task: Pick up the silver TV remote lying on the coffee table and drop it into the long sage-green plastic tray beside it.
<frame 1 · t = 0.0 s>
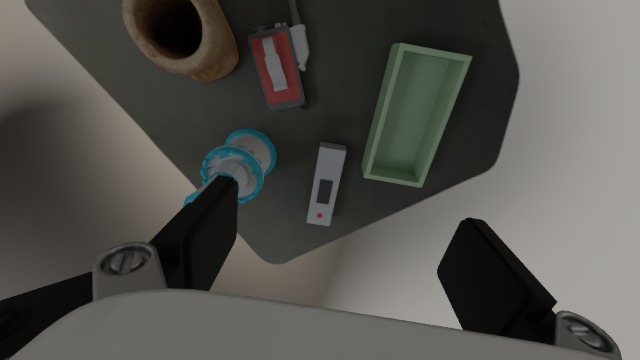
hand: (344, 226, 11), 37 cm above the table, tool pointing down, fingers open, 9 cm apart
tray: (403, 116, 45), on the table
walkie-talkie: (281, 47, 41), on the table
brown flared hollow piece: (205, 25, 40), on the table
remote: (325, 181, 51), on the table
model tower: (250, 154, 49), on the table
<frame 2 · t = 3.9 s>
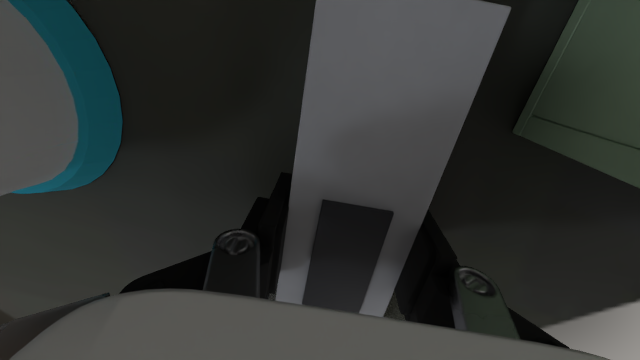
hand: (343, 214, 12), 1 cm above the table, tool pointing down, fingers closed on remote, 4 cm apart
remote: (342, 205, 12), on the table, touching gripper
model tower: (3, 82, 11), on the table
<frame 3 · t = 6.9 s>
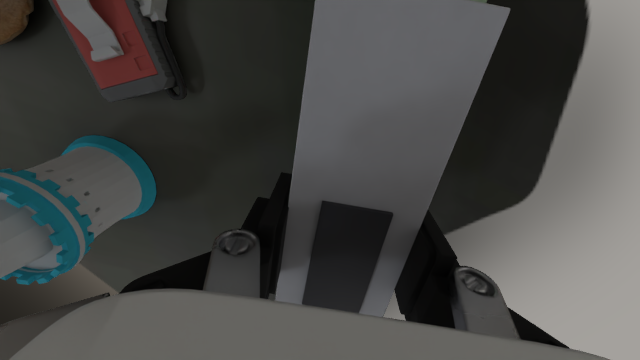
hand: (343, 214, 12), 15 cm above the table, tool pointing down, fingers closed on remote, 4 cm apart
remote: (342, 206, 12), point 14 cm above the table, touching gripper
model tower: (112, 178, 29), on the table
when the fingers open (4 cm above the table, at t = 10.4 s): remote stays where it is, resting on tray.
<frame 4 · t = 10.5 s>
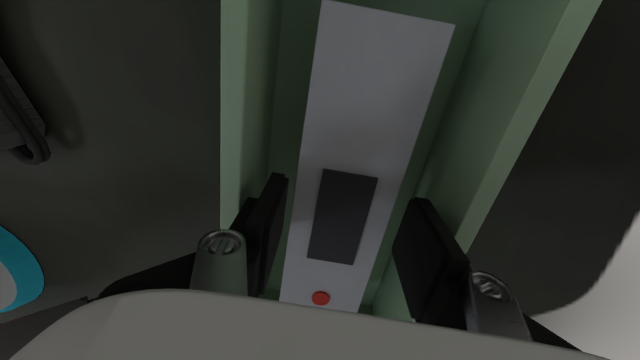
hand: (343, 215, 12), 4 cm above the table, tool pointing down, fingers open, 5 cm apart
tray: (340, 178, 15), on the table
remote: (340, 181, 15), resting on tray
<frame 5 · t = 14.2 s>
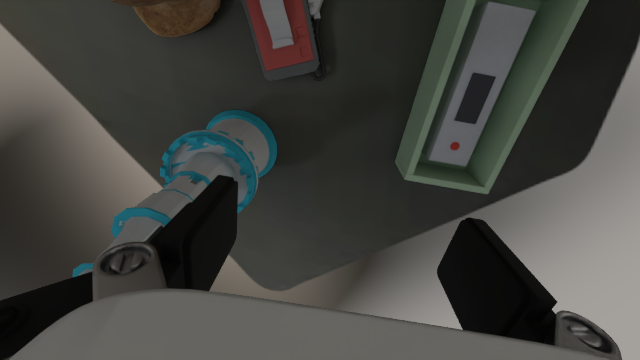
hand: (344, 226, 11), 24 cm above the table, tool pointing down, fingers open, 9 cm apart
tray: (461, 90, 31), on the table
remote: (462, 90, 30), resting on tray
model tower: (241, 146, 36), on the table
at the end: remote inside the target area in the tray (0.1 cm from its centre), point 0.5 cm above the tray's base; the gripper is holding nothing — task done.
